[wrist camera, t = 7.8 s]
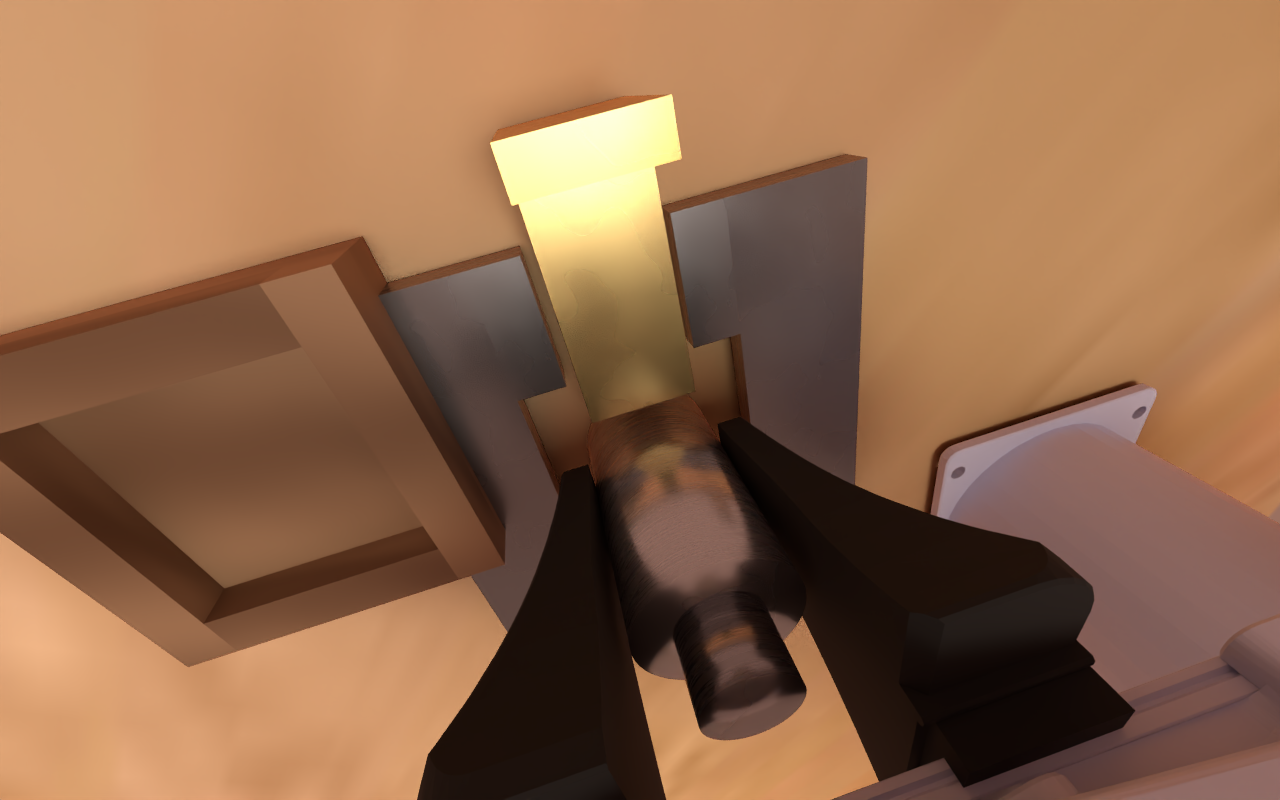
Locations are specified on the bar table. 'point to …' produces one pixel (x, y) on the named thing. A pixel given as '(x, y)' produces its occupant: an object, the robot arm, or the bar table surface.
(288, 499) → the square wooden tray
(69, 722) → the bar table surface
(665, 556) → the peg
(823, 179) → the socket collar
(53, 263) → the bar table surface
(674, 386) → the golden l-shaped block
